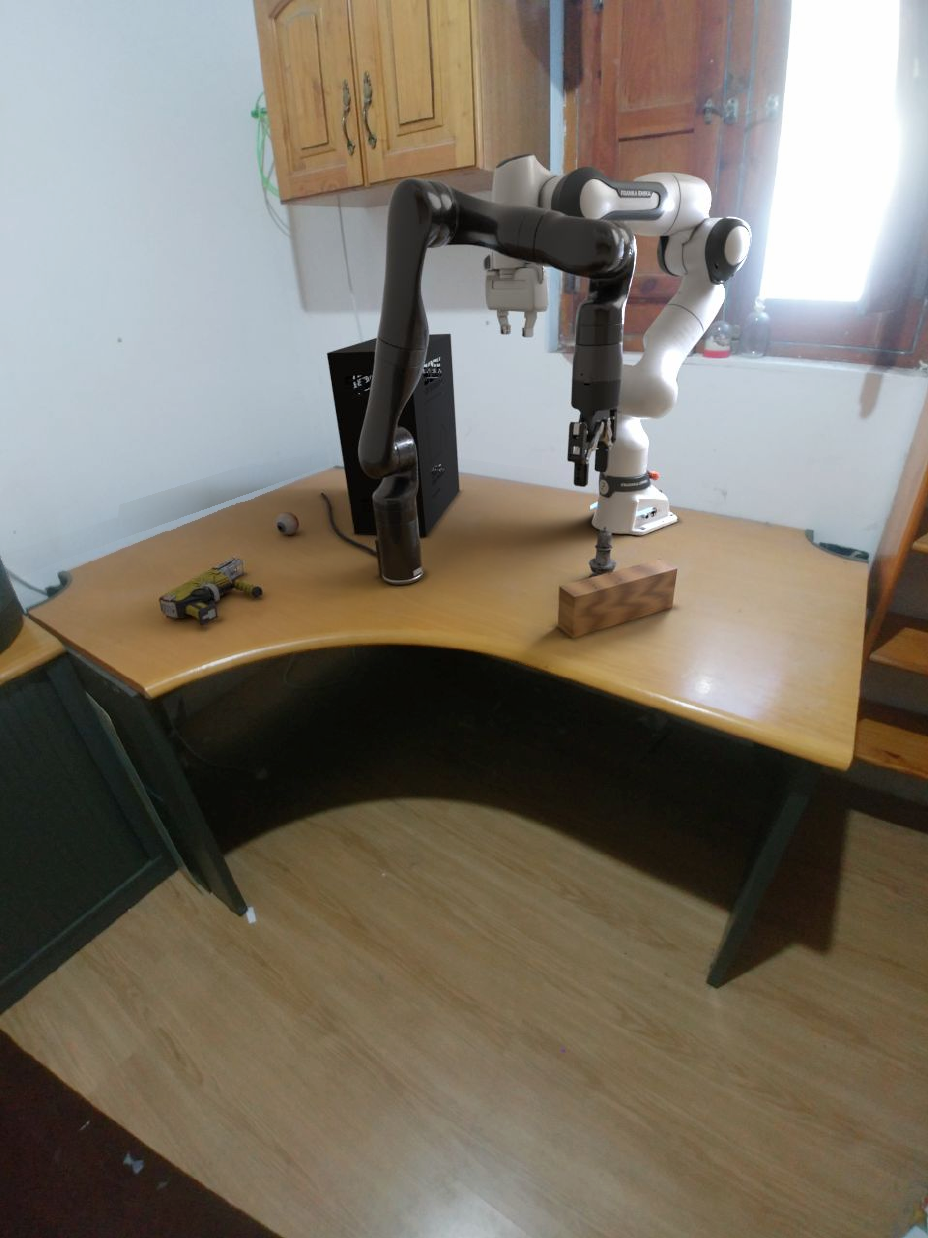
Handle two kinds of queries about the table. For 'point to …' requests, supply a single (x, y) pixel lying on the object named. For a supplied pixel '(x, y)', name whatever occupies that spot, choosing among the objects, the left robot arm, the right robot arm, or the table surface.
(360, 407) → the cardboard box
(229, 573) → the toy gun
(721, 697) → the table surface
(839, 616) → the table surface
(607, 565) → the grey chess piece
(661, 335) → the right robot arm
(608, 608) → the bar
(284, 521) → the eyeball
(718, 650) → the table surface
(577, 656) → the table surface
